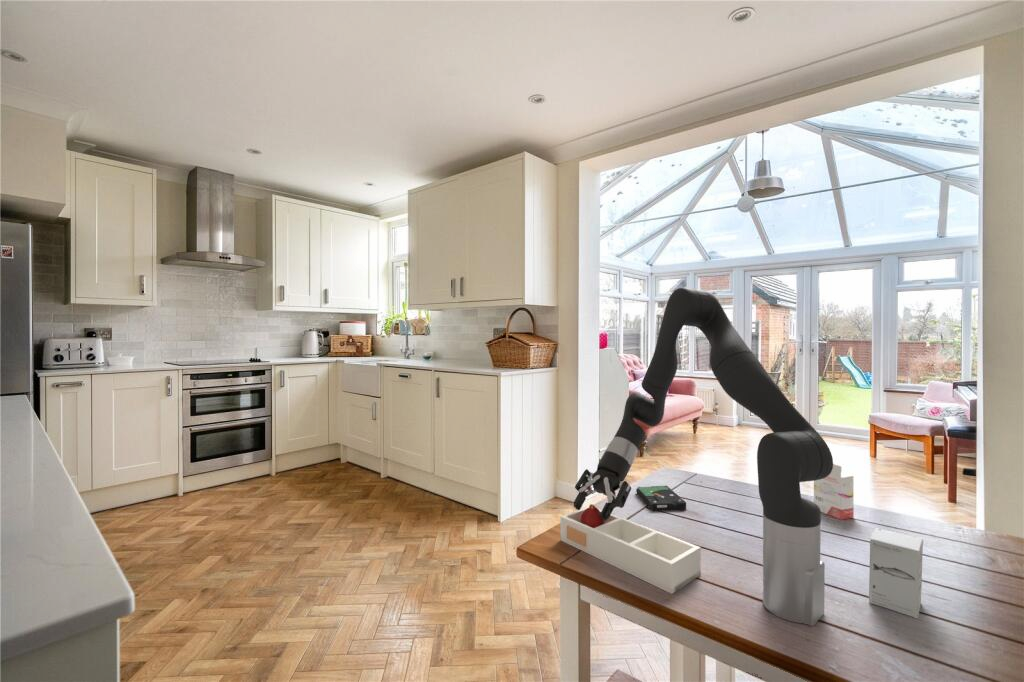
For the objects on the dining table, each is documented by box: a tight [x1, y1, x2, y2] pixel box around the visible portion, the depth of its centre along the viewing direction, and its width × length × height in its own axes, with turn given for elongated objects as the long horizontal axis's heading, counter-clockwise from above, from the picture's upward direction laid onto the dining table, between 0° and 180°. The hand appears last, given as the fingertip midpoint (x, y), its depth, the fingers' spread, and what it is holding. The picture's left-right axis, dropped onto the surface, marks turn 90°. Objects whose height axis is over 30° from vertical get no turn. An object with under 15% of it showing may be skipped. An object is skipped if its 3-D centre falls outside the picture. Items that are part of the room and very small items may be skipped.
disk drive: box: [635, 485, 687, 512], centre depth 142 cm, size 10×3×15 cm
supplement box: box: [868, 527, 924, 619], centre depth 88 cm, size 7×7×13 cm
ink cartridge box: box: [813, 463, 855, 520], centre depth 131 cm, size 9×5×15 cm, turn 17°
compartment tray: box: [559, 505, 702, 595], centre depth 108 cm, size 31×11×6 cm, turn 39°
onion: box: [581, 503, 604, 528], centre depth 116 cm, size 6×6×8 cm
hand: (588, 513), depth 115 cm, fingers open, 8 cm apart
